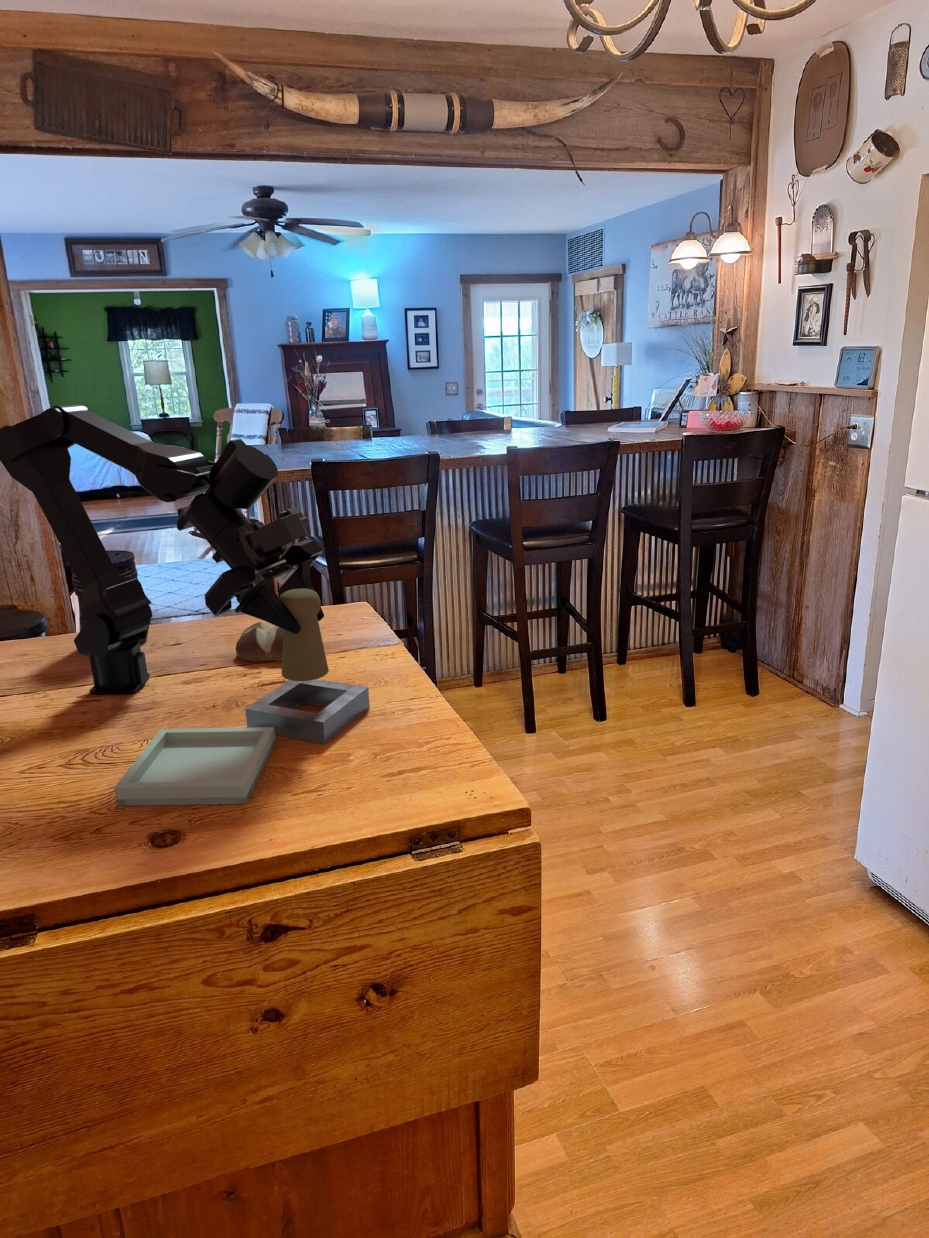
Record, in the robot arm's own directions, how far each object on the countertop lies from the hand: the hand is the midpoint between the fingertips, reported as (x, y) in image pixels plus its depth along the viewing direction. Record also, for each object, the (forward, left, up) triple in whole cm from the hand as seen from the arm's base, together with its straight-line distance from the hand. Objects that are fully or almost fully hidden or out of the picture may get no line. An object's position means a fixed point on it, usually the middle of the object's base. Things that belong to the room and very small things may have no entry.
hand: (310, 625), depth 102 cm
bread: (-12, +26, -14) cm, 32 cm away
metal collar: (-1, +1, -13) cm, 13 cm away
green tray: (-11, -13, -13) cm, 22 cm away
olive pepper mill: (-1, +1, -7) cm, 7 cm away
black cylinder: (-39, +31, -13) cm, 51 cm away
